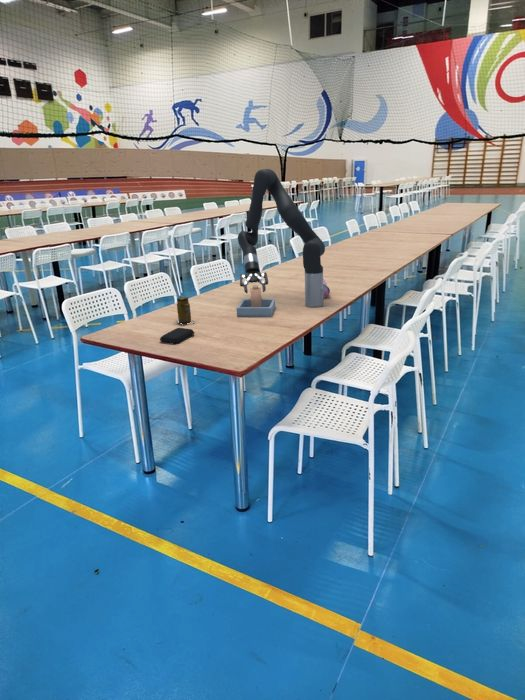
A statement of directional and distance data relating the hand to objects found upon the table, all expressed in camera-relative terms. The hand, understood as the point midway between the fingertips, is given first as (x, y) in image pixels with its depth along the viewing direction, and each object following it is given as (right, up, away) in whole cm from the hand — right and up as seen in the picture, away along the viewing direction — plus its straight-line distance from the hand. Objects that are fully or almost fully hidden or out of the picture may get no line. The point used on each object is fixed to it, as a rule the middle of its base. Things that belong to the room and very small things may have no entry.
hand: (255, 291), depth 238 cm
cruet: (+1, -9, +2) cm, 9 cm away
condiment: (-33, -16, -9) cm, 38 cm away
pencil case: (+35, +2, +29) cm, 46 cm away
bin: (+1, -10, +2) cm, 10 cm away
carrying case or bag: (-33, -24, -30) cm, 51 cm away
